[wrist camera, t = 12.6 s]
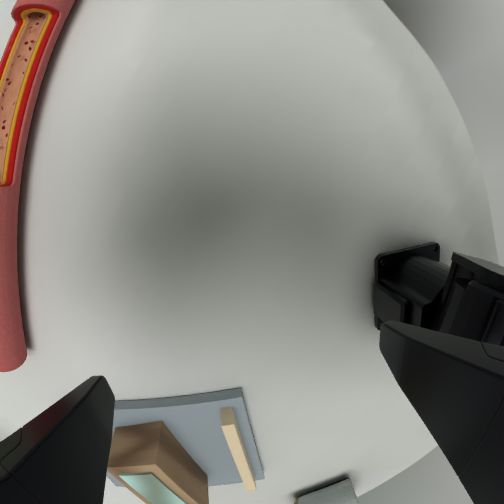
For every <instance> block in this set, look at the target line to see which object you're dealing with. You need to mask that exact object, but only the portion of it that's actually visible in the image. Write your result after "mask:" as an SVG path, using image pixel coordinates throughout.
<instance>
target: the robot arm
mask: <svg viewBox="0 0 504 504" xmlns="http://www.w3.org/2000/svg"><path fill="white" fill-rule="evenodd" d="M434 247H435V249H434ZM439 258H440V246H439V244H438V243H435V242H432V243H428V244H423V245H419V246H415V247H411V248H406V249H402V250H398V251H393V252H389V253H384V254H380V255H378V256H377V257H376V260H375V282H376V283H375V285H374V314H375V327H376V328H377V329H378V330H380V342H379V347H380V351H381V353H382V355H383V357H384V358H385V360H386V362H387V364H388V366H389V368H390V370H391V372H392V374H393V375H394V377H395V379H396V381H397V383H398V385H399V386H400V388H401V389H402V391H403V392H404V394H405V395H406V397H407V398H408V400H409V401H410V403H411V404H412V406H413V407H414V409H415V410H416V412H417V413H418V415H419V416H420V418H421V419H422V421H423V422H424V424H425V425H426V427H427V428H428V430H429V431H430V433H431V434H432V436H433V437H434V439H435V441H436V442H437V444H438V445H439V447H440V448H441V450H442V451H443V453H444V455H445V456H446V458H447V459H448V461H449V463H450V464H451V466H452V467H453V469H454V471H455V472H456V474H457V476H459V479H460V481H461V483H462V484H463V486H464V487H465V489H466V491H467V493H468V494H469V496H470V498H471V499H472V501H473V503H474V504H504V267H502V266H499V265H497V264H494V263H492V262H489V261H486V260H482V259H478V258H475V257H471V256H467V255H463V254H460V253H456V252H453V254H452V258H451V260H452V263H451V267H449V266H447V265H445V264H443V263H440V262H439ZM382 259H383V263H380V262H381V260H382ZM381 323H382V324H381ZM380 324H381V325H380ZM114 407H115V397H114V394H113V392H112V390H111V388H110V386H109V384H108V382H107V380H106V378H105V377H104V376H92V377H90V378H89V379H87V380H86V381H85V382H83V383H82V384H81V385H79V386H78V387H76V388H75V389H74V390H72V391H71V392H70V393H68V394H67V395H65V396H64V397H63V398H61V399H60V400H59V401H57V402H56V403H54V404H53V405H52V406H50V407H49V408H48V409H46V410H45V411H43V412H42V413H41V414H39V415H38V416H37V417H35V418H34V419H32V420H31V421H30V422H28V423H27V424H25V425H24V426H23V428H20V429H18V430H17V431H16V432H14V433H13V434H11V435H10V436H9V437H7V438H6V439H4V440H3V441H1V442H0V504H103V497H104V489H105V481H106V474H107V467H108V461H109V454H110V448H111V442H112V434H113V419H114Z"/></svg>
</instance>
